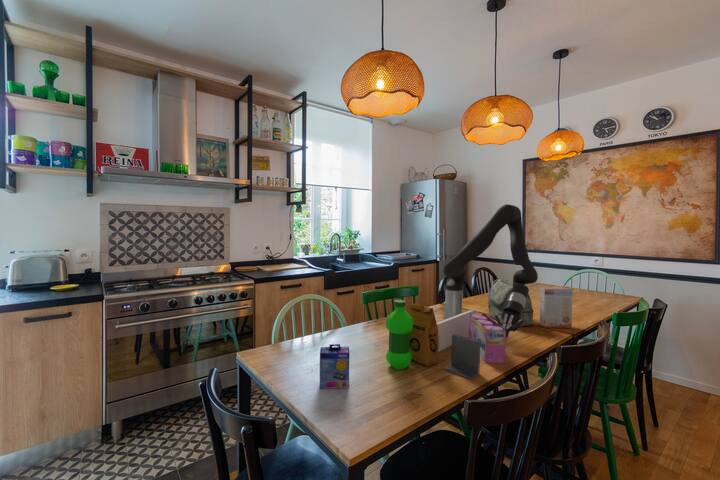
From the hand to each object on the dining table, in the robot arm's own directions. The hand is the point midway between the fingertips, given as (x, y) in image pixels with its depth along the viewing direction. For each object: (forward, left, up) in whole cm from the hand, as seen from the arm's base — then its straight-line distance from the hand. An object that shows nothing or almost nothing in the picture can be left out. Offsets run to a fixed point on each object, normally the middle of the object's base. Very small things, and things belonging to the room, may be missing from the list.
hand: (503, 337), depth 144 cm
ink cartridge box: (-27, -73, -5) cm, 78 cm away
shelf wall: (-19, -9, -5) cm, 21 cm away
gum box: (-4, -9, -6) cm, 11 cm away
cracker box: (+6, +53, -5) cm, 54 cm away
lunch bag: (-16, +47, -6) cm, 50 cm away
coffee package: (-18, -35, -5) cm, 40 cm away
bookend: (-2, -33, -5) cm, 34 cm away
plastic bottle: (-21, -46, -5) cm, 51 cm away
